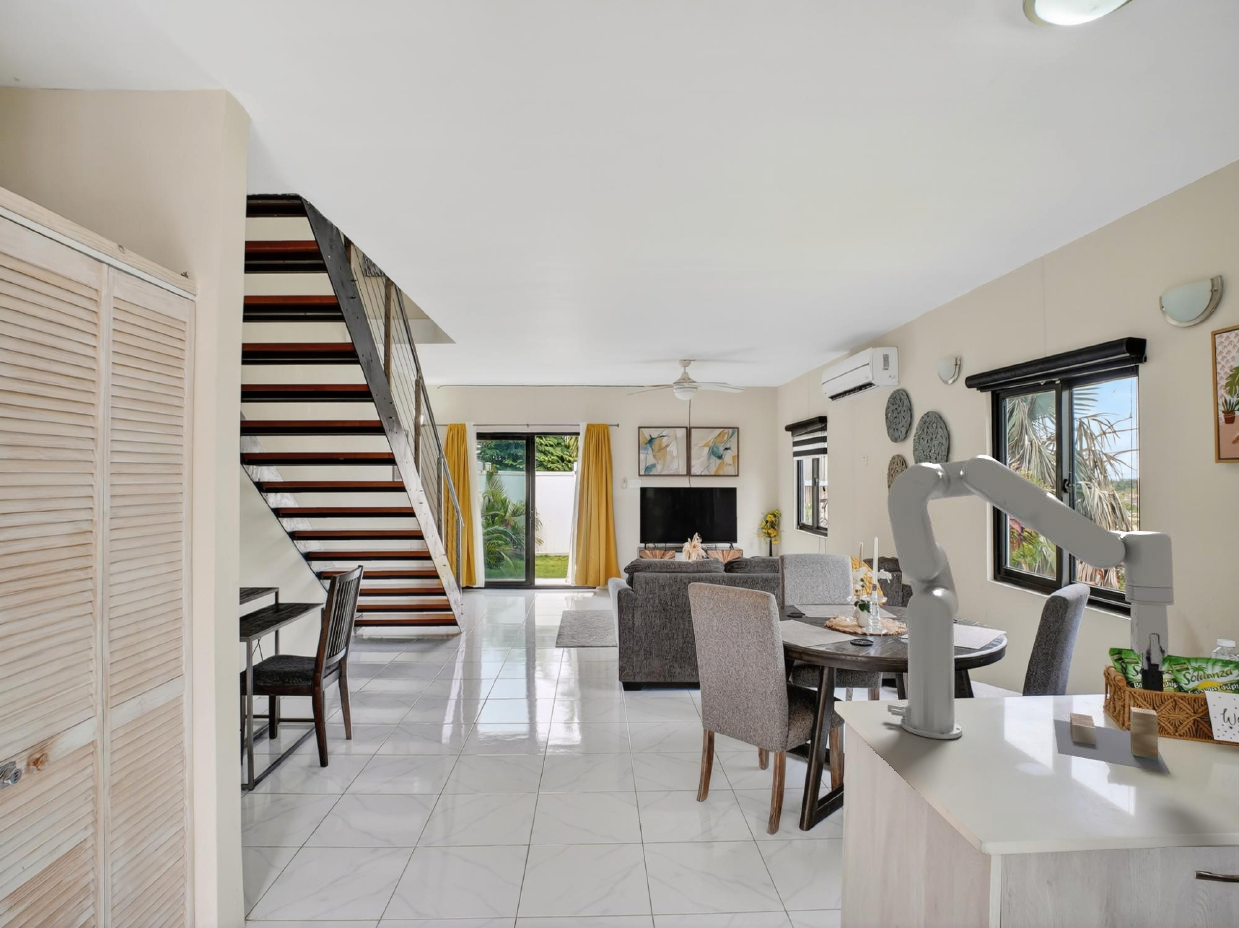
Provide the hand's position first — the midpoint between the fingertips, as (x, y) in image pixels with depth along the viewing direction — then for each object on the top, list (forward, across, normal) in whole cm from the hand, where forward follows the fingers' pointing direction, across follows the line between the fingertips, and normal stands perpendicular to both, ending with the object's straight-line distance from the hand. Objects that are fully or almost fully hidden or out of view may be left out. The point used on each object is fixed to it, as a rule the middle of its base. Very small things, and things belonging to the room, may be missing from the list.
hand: (1152, 689), depth 132 cm
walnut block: (+13, -9, -11) cm, 19 cm away
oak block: (+15, -7, -1) cm, 17 cm away
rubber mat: (+15, -11, -7) cm, 20 cm away
